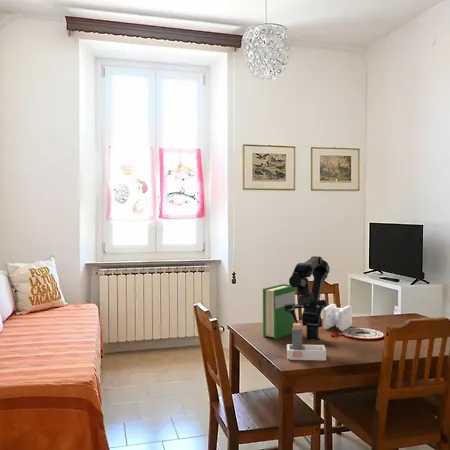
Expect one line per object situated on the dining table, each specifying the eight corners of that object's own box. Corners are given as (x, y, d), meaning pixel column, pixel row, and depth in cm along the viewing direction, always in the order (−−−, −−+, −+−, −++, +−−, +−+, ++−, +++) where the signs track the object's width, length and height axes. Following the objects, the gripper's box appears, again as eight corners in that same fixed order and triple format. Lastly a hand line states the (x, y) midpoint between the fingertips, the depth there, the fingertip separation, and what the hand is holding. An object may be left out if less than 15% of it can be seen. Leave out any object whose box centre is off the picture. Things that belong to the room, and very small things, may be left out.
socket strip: (286, 353, 207) (286, 344, 207) (324, 354, 205) (324, 345, 205) (287, 359, 198) (287, 350, 198) (326, 360, 196) (326, 351, 196)
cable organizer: (334, 324, 258) (334, 302, 257) (353, 326, 251) (353, 304, 251) (323, 330, 245) (323, 307, 245) (342, 333, 239) (342, 310, 239)
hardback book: (275, 339, 228) (275, 290, 228) (263, 336, 233) (262, 288, 232) (295, 332, 242) (295, 285, 241) (283, 329, 247) (282, 283, 246)
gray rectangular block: (292, 352, 204) (292, 323, 204) (301, 352, 204) (301, 323, 203) (292, 355, 200) (292, 325, 200) (302, 355, 200) (302, 325, 199)
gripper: (281, 289, 210) (285, 325, 205) (323, 284, 207) (329, 320, 202) (283, 293, 220) (287, 327, 215) (324, 289, 217) (329, 323, 212)
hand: (307, 325), depth 211 cm, fingers open, 9 cm apart
